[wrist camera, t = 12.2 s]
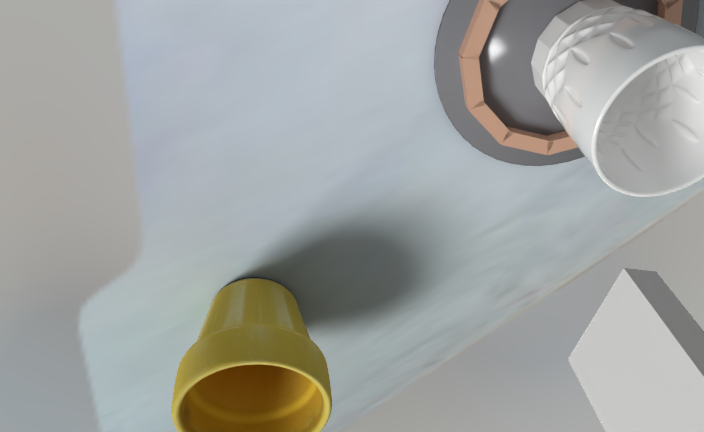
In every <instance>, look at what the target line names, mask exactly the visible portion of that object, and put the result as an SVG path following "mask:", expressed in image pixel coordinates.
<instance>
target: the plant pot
mask: <svg viewBox="0 0 704 432" xmlns="http://www.w3.org/2000/svg"><path fill="white" fill-rule="evenodd" d="M331 409H332V397H331V388H330V380H329V374H328V368H327V363H326V360H325V357H324V355H323V353H322V352H321V350H320V349H319V348H318V346H317V345H316V344H315V343H314V342H313V341H312V340H311V339H310V337H309V334H308V332H307V329H306V326H305V324H304V321H303V319H302V316H301V313H300V310H299V307H298V305H297V302H296V300H295V298H294V296H293V295H292V293H291V292H290V291H289V290H288V289H287V288H285V287H284V286H282V285H281V284H279V283H276V282H274V281H271V280H267V279H260V278H249V279H242V280H239V281H236V282H233V283H231V284H229V285H227V286H226V287H224V288H223V289H221V290H220V291H219V292H218V293H217V295H216V296H215V297H214V299H213V301H212V304H211V306H210V309H209V311H208V314H207V317H206V319H205V322H204V324H203V327H202V329H201V332H200V334H199V337H198V339H197V342H196V343H195V344H194V345H193V346H192V347H191V348H190V349H189V350H188V351H187V352H186V354H185V355H184V357H183V358H182V360H181V362H180V365H179V368H178V371H177V376H176V381H175V386H174V393H173V401H172V418H173V422H174V425H175V427H176V429H177V431H178V432H320V431H321V430H322V429H323V428H324V426H325V425H326V423H327V421H328V419H329V417H330V414H331Z"/></svg>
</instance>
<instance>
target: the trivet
mask: <svg viewBox="0 0 704 432" xmlns="http://www.w3.org/2000/svg"><path fill="white" fill-rule="evenodd" d="M579 1H583V0H450V1H449V3H448V5H447V7H446V10H445V12H444V14H443V17H442V21H441V24H440V27H439V30H438V35H437V40H436V46H435V59H434V70H435V80H436V86H437V90H438V94H439V98H440V100H441V103H442V105H443V108H444V110H445V112H446V114H447V116H448V117H449V119H450V121H451V122H452V124H453V126H454V127H455V128H456V130H457V131H458V132H459V133H460V134H461V136H462V137H463V138H464V139H465V140H466V141H468V142H469V143H470V144H471V145H472V146H473V147H475V148H476V149H478V150H479V151H481V152H483V153H484V154H486V155H488V156H491V157H493V158H495V159H497V160H501V161H504V162H508V163H511V164H518V165H525V166H543V165H554V164H559V163H564V162H569V161H572V160H575V159H578V158H582V157H585V156H584V155H583V153H582V152H581V151H580V149H579V148H578V147H577V145H576V144H575V143H574V141H573V140H572V139H571V138H570V136H569V135H568V134H567V132H566V130H565V129H564V127H563V126H562V125H561V123H560V122H559V120H558V119H557V117H556V116H555V114H554V113H553V112H552V109H551V107H550V105H549V103H548V102H547V100H546V99H545V97H544V96H543V95H542V94H541V92H540V91H539V90H538V89H537V87H536V86H535V83H534V78H533V72H532V66H531V61H532V57H533V54H534V50H535V47H536V43H537V40H538V37H539V36H540V35H541V34H542V32H543V31H544V30H545V28H546V27H547V26H548V24H549V23H550V22H551V21H552V19H553V18H554V17H555V16H556V15H557V14H559V13H561V12H562V11H564V10H566V9H567V8H569V7H570V6H572V5H574V4H575V3H577V2H579ZM614 1H617V2H620V3H622V4H625V5H627V6H630V7H632V8H634V9H640V10H644V11H646V12H648V13H650V14H653V15H656V16H658V17H660V18H662V19H665V20H667V21H669V22H672V23H675V24H677V25H679V26H681V27H683V28H685V29H687V30H689V31H692V32H694V33H695V30H696V24H697V19H698V4H699V0H614Z"/></svg>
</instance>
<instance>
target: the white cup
mask: <svg viewBox="0 0 704 432" xmlns="http://www.w3.org/2000/svg"><path fill="white" fill-rule="evenodd" d="M531 66H532V72H533V78H534V83H535V86H536V87H537V89H538V90H539V91H540V92H541V94H542V95H543V96H544V97H545V99H546V100H547V102H548V103H549V105H550V107H551V109H552V112H553V113H554V114H555V116H556V117H557V119H558V120H559V122H560V123H561V125H562V126H563V127H564V129H565V130H566V132H567V134H568V135H569V136H570V138H571V139H572V140H573V141H574V143H575V144H576V145H577V147H578V148H579V149H580V151H581V152H582V153H583V155H584V156H585V157H586V159H587V160H588V161H589V163H590V164H591V165H592V167H593V168H594V169H595V171H596V172H597V173H598V175H599V176H600V177H601V179H602V180H603V181H604V182H605V183H606V184H607V185H608V186H610V187H611V188H613V189H614V190H616V191H618V192H621V193H623V194H627V195H631V196H638V197H652V196H660V195H665V194H669V193H672V192H676V191H678V190H681V189H684V188H686V187H688V186H690V185H692V184H694V183H696V182H698V181H700V180H701V179H703V178H704V37H702V36H700V35H698V34H696V33H694V32H692V31H689V30H687V29H685V28H683V27H681V26H679V25H677V24H675V23H672V22H669V21H667V20H665V19H662V18H660V17H658V16H656V15H653V14H650V13H648V12H646V11H644V10H640V9H634V8H632V7H630V6H627V5H625V4H622V3H620V2H617V1H614V0H583V1H579V2H577V3H575V4H574V5H572V6H570V7H569V8H567V9H566V10H564V11H562V12H561V13H559V14H557V15H556V16H555V17H554V18H553V19H552V21H551V22H550V23H549V24H548V26H547V27H546V28H545V30H544V31H543V32H542V34H541V35H540V36H539V37H538V40H537V43H536V47H535V50H534V54H533V57H532V61H531Z"/></svg>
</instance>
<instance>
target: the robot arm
mask: <svg viewBox="0 0 704 432" xmlns="http://www.w3.org/2000/svg"><path fill="white" fill-rule="evenodd" d="M568 360H569V362H570V364H571V366H572V368H573V369H574V371H575V374H576V375H577V378H578V380H579V381H580V383H581V385H582V387H583V389H584V391H585V393H586V395H587V397H588V399H589V401H590V402H591V405H592V407H593V408H594V410H595V412H596V414H597V416H598V418H599V420H600V422H601V424H602V426H603V428H604V430H605V431H606V432H704V331H703V330H702V329H701V327H700V326H699V325H698V324H697V322H696V321H695V320H694V319H693V317H692V316H691V315H690V314H689V313H688V311H687V310H686V309H685V307H684V306H683V305H682V304H681V303H680V301H679V300H678V299H677V297H676V296H675V295H674V294H673V292H672V291H671V290H670V289H669V287H668V286H667V285H666V284H665V283H664V281H663V280H662V278H661V277H660V276H659V275H658V273H657V272H654V271H645V270H636V269H628V268H624V269H623V270H622V272H621V274H620V275H619V277H618V278H617V280H616V282H615V283H614V285H613V286H612V288H611V290H610V291H609V293H608V295H607V296H606V298H605V300H604V301H603V303H602V304H601V306H600V308H599V309H598V311H597V313H596V314H595V316H594V318H593V319H592V321H591V322H590V324H589V326H588V327H587V329H586V331H585V332H584V334H583V335H582V337H581V339H580V340H579V342H578V344H577V345H576V347H575V349H574V350H573V352H572V354H571V355H570V357H569V358H568Z"/></svg>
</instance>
